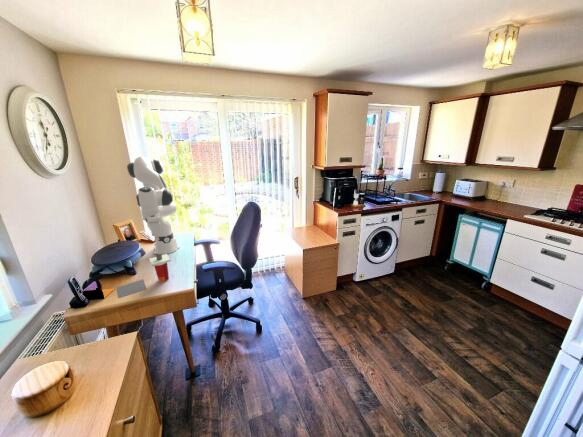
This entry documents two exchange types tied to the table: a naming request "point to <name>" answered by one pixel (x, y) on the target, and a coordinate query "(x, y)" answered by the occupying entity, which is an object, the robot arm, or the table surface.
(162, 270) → the paper cup
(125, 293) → the mat
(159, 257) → the lid
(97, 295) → the miniature room corner
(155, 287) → the table surface
